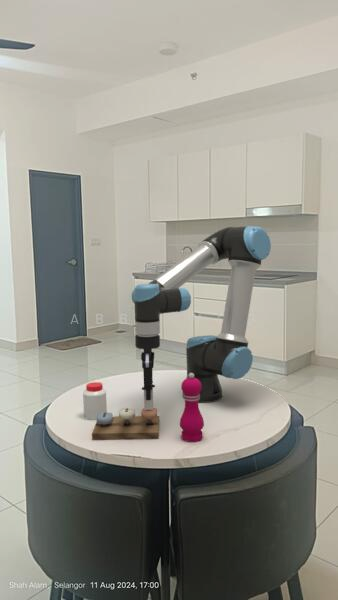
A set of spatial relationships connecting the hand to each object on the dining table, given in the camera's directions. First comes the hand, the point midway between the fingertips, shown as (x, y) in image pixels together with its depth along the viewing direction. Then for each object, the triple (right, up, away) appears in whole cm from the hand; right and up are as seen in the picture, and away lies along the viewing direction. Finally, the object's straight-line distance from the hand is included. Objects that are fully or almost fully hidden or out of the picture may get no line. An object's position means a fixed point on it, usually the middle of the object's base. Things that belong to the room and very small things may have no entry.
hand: (148, 408), depth 151 cm
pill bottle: (-19, -6, +14) cm, 24 cm away
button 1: (0, -5, +1) cm, 5 cm away
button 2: (-7, -5, +1) cm, 8 cm away
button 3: (-14, -6, +1) cm, 15 cm away
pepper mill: (+13, -8, -5) cm, 16 cm away
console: (-7, -7, +1) cm, 10 cm away
